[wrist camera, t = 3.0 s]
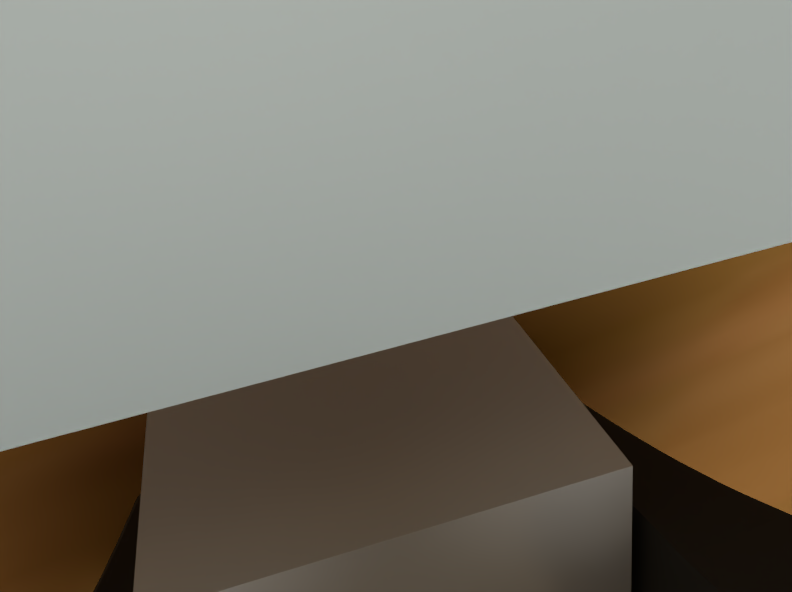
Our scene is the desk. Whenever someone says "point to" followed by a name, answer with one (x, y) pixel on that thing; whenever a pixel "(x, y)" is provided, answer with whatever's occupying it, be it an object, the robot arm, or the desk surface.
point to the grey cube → (389, 479)
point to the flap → (356, 178)
